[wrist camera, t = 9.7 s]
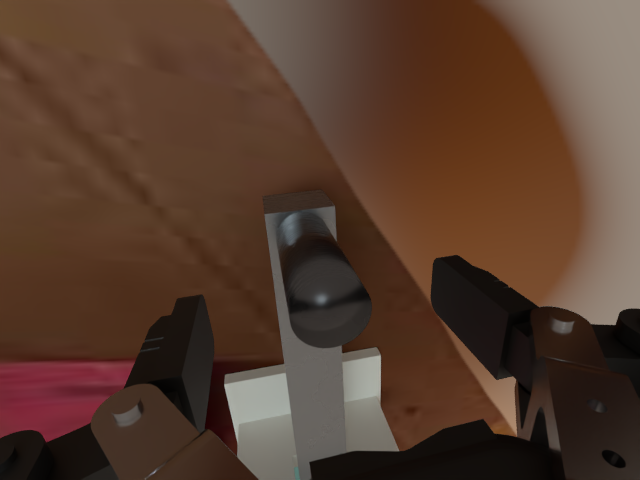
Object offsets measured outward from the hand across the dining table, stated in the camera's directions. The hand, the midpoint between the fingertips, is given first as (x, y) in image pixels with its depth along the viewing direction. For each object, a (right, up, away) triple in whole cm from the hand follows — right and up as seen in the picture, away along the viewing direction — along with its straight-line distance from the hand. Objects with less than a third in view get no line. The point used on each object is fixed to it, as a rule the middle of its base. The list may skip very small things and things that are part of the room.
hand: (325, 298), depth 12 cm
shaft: (-1, -6, +13) cm, 15 cm away
